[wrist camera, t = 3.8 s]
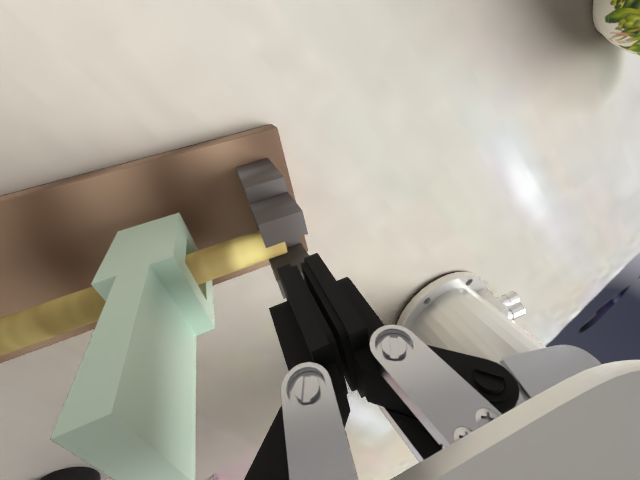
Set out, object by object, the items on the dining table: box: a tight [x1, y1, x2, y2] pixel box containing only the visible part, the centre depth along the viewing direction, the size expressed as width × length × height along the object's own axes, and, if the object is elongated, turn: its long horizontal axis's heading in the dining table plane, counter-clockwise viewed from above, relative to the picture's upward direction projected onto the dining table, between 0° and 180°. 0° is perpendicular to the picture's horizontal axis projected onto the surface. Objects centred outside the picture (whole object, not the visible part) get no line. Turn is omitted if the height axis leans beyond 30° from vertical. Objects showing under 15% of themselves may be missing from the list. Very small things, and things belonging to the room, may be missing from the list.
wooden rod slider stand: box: [0, 124, 309, 363], centre depth 14 cm, size 26×9×8 cm, turn 101°
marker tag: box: [50, 213, 215, 480], centre depth 12 cm, size 3×4×10 cm
